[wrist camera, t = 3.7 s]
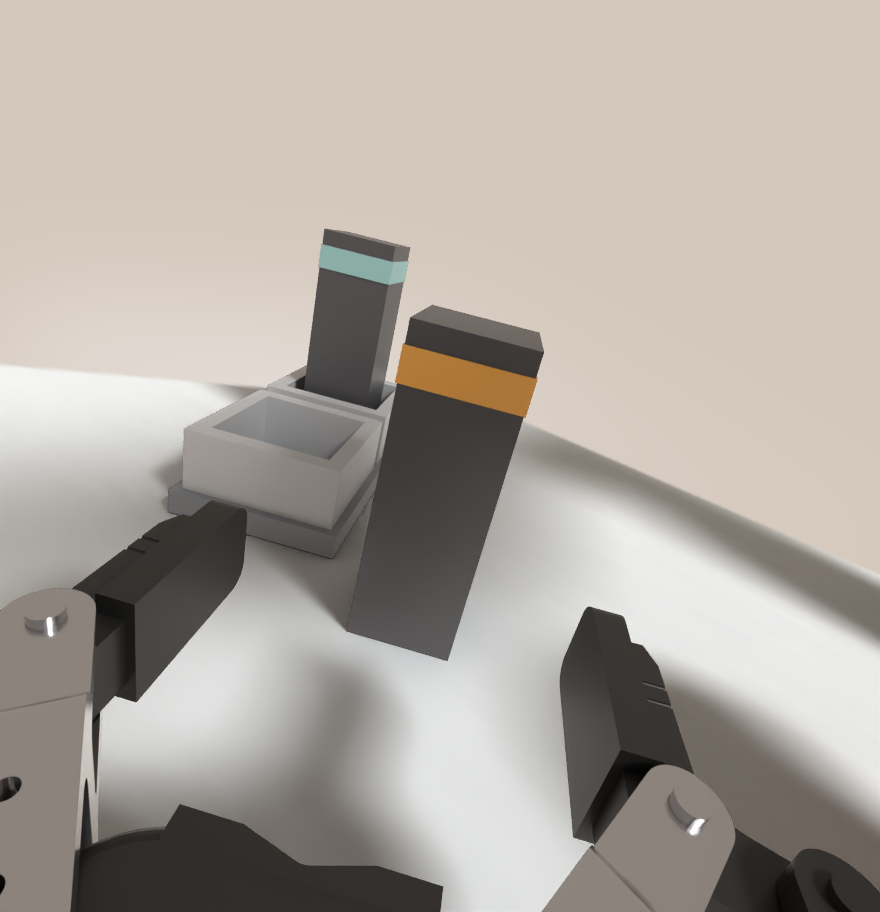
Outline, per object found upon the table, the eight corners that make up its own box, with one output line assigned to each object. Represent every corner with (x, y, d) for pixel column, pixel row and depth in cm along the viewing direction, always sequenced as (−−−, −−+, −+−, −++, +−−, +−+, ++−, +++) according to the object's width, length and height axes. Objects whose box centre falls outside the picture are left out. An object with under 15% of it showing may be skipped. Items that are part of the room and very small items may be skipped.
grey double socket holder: (405, 441, 38) (417, 387, 36) (332, 559, 23) (346, 478, 22) (303, 413, 38) (310, 359, 37) (168, 511, 24) (169, 428, 22)
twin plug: (376, 427, 36) (411, 247, 31) (359, 448, 32) (395, 246, 27) (320, 412, 36) (347, 231, 31) (297, 430, 32) (323, 228, 28)
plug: (460, 595, 23) (540, 333, 18) (448, 662, 19) (545, 352, 15) (373, 570, 23) (431, 304, 19) (344, 631, 19) (407, 317, 15)
